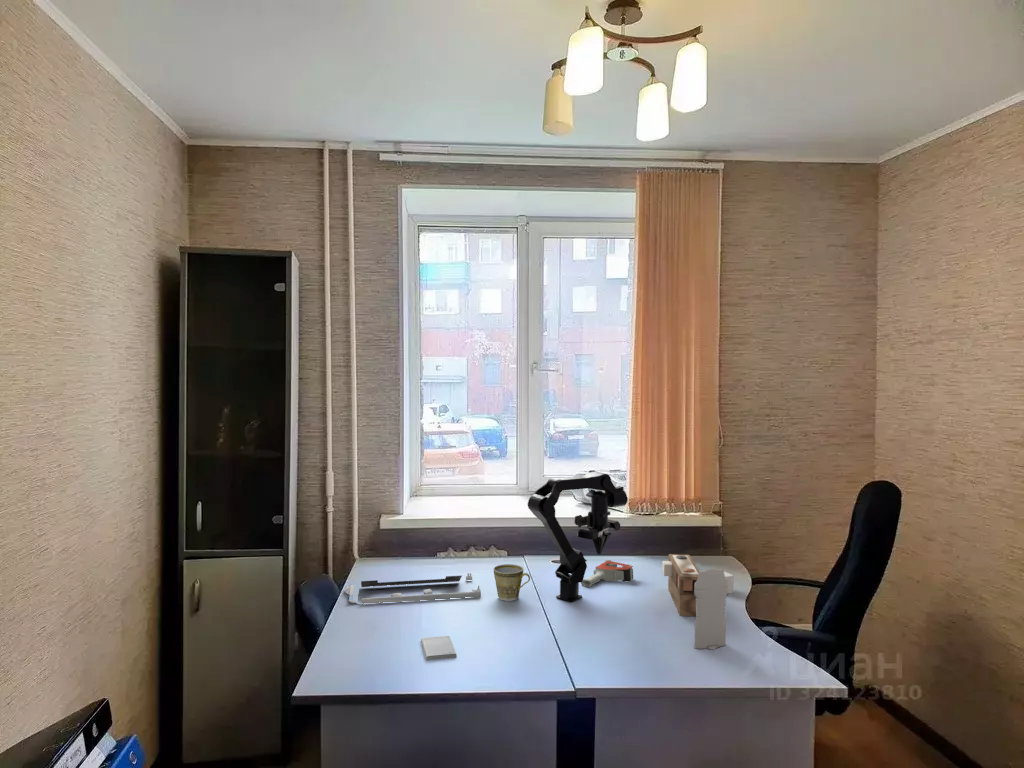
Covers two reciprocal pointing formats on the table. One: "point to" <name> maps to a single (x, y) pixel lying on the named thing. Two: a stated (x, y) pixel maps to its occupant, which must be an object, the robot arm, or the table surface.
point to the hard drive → (438, 648)
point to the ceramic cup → (509, 581)
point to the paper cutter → (427, 595)
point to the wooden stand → (685, 571)
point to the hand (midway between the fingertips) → (599, 553)
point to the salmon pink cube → (687, 585)
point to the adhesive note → (729, 581)
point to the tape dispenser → (609, 573)
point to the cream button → (667, 568)
